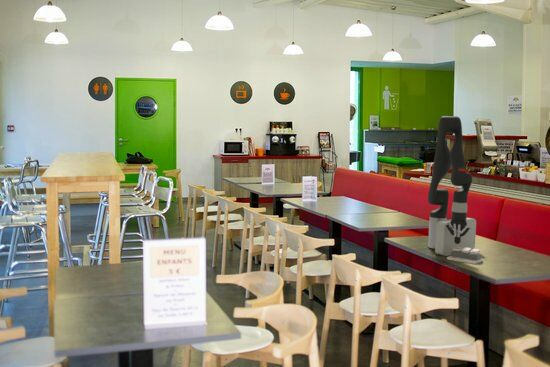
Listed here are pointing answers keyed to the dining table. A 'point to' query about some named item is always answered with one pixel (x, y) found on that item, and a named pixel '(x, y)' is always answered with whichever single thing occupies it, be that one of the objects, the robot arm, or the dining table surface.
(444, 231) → the rounded white slab
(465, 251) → the rocker
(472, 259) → the switch unit
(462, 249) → the rocker
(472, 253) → the rocker
